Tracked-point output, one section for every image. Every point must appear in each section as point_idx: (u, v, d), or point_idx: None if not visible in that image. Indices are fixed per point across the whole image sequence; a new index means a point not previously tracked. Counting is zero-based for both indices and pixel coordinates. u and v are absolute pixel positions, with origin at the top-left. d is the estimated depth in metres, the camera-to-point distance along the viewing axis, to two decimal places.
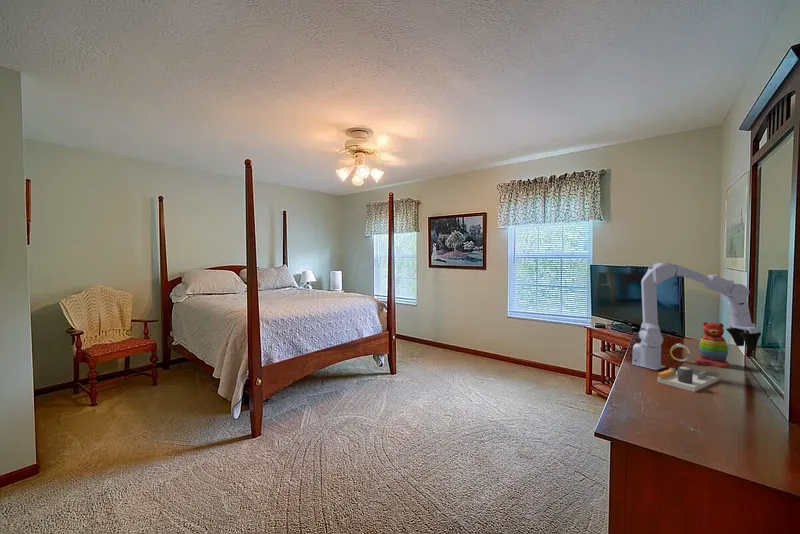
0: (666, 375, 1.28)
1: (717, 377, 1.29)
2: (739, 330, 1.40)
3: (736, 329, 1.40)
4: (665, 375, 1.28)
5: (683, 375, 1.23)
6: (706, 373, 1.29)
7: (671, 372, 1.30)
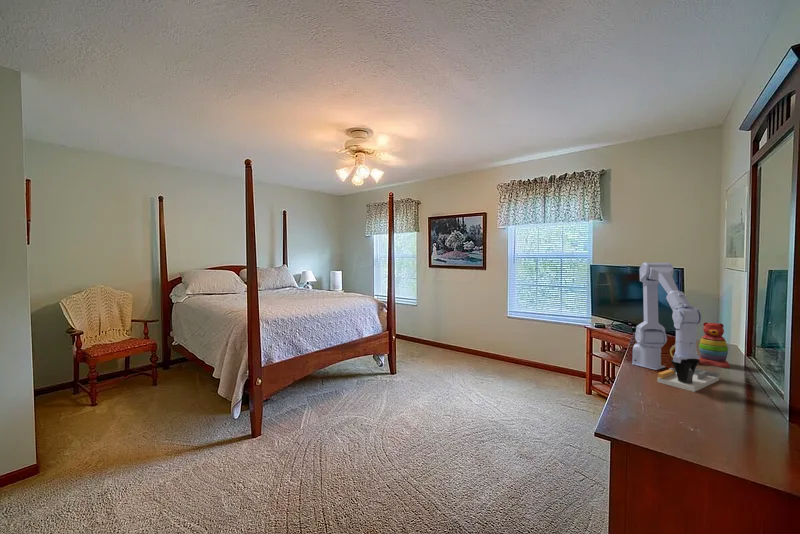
0: (666, 375, 1.28)
1: (717, 377, 1.29)
2: (690, 361, 1.25)
3: (687, 360, 1.26)
4: (665, 375, 1.28)
5: None
6: (706, 373, 1.29)
7: (671, 372, 1.30)
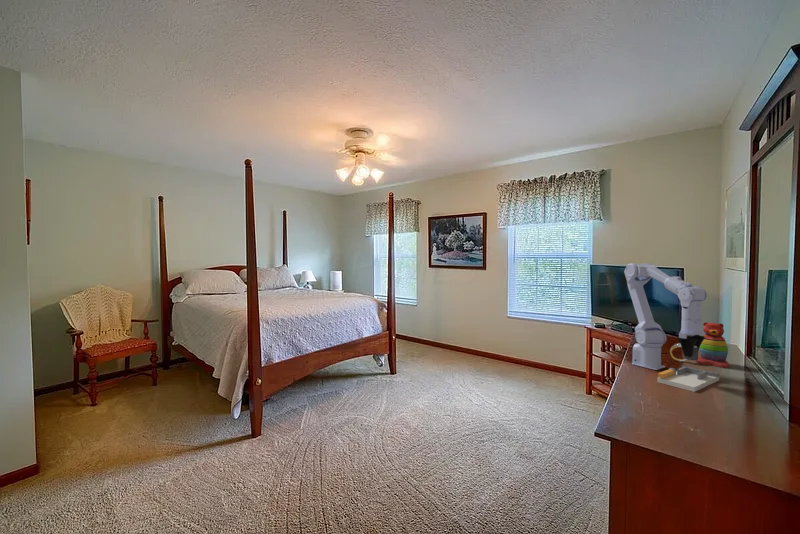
0: (666, 375, 1.28)
1: (717, 377, 1.29)
2: (695, 338, 1.30)
3: (692, 336, 1.31)
4: (665, 375, 1.28)
5: None
6: (706, 373, 1.29)
7: (671, 372, 1.30)
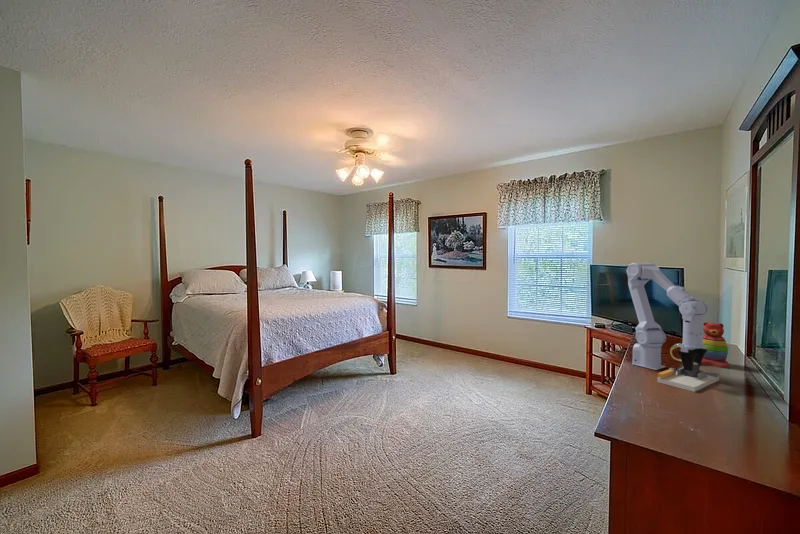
0: (666, 375, 1.28)
1: (717, 377, 1.29)
2: (698, 351, 1.32)
3: (695, 349, 1.33)
4: (665, 375, 1.28)
5: None
6: (706, 373, 1.29)
7: (671, 372, 1.30)
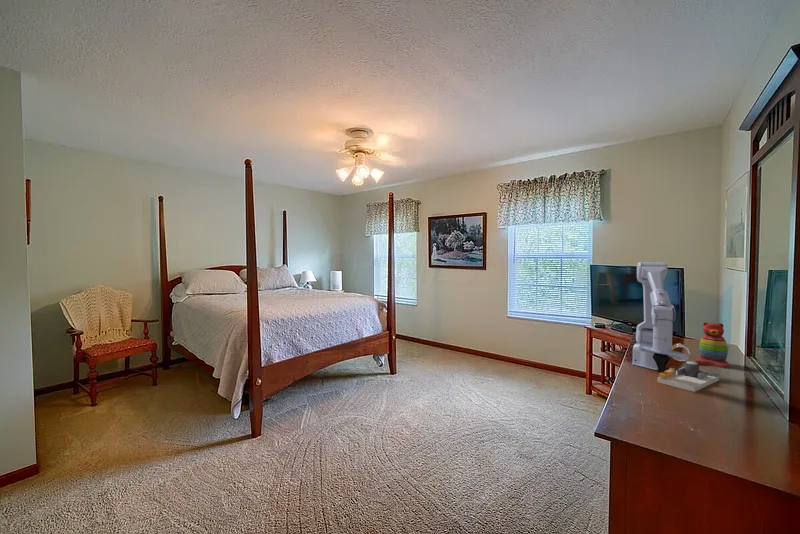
0: (667, 375, 1.28)
1: (717, 377, 1.29)
2: None
3: None
4: (666, 375, 1.27)
5: (691, 370, 1.29)
6: (706, 373, 1.29)
7: (671, 372, 1.30)
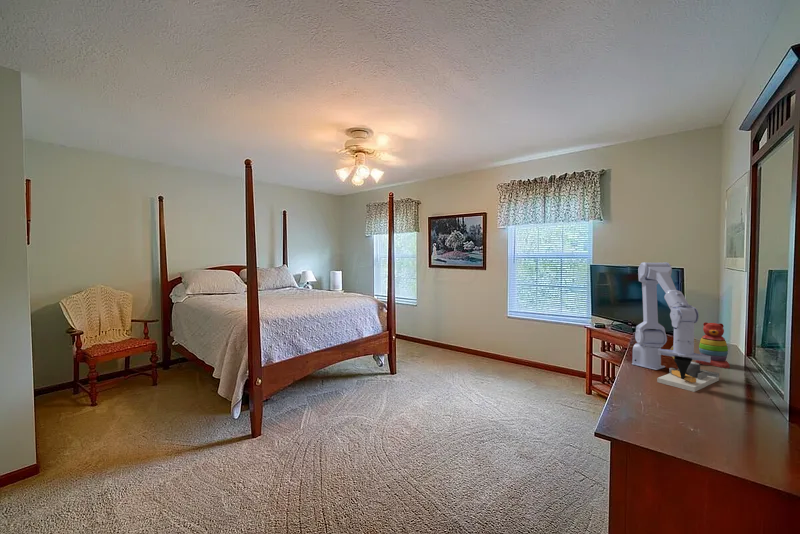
0: None
1: (717, 377, 1.29)
2: None
3: None
4: None
5: (694, 370, 1.29)
6: (706, 373, 1.29)
7: None
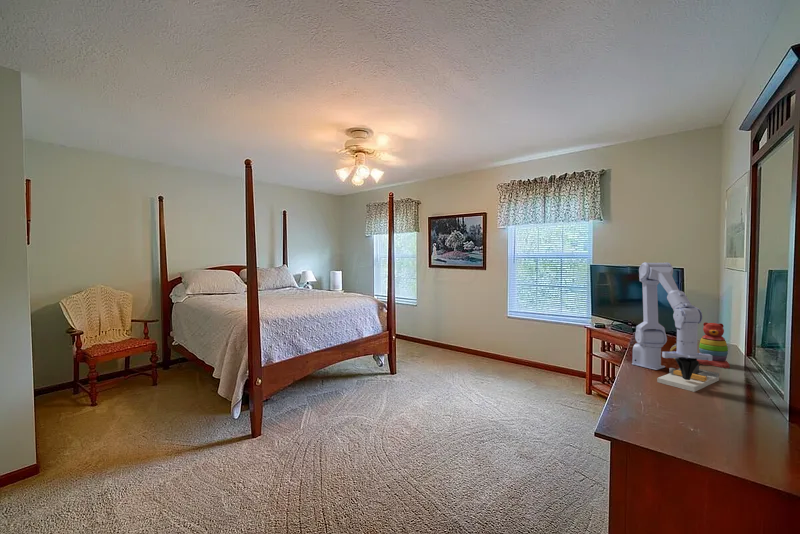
0: None
1: (717, 377, 1.29)
2: None
3: None
4: None
5: (694, 370, 1.29)
6: (706, 373, 1.29)
7: None
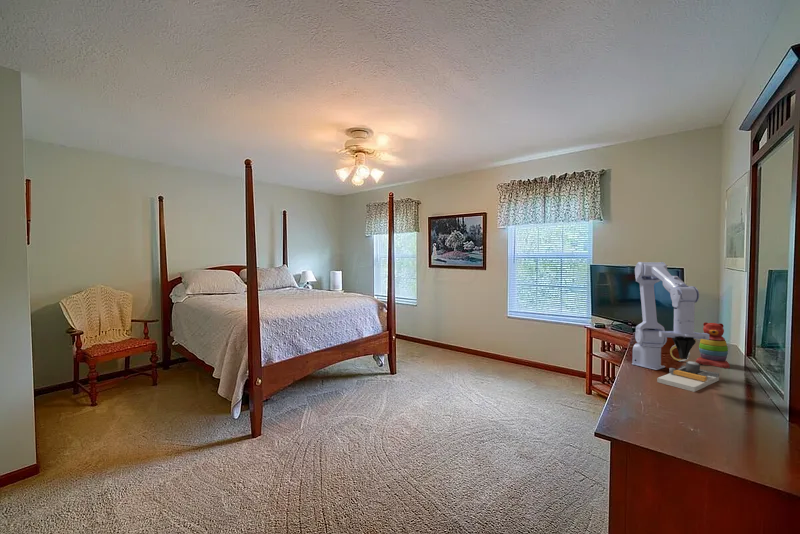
0: None
1: (717, 377, 1.29)
2: None
3: None
4: None
5: (696, 371, 1.28)
6: (706, 373, 1.29)
7: None
